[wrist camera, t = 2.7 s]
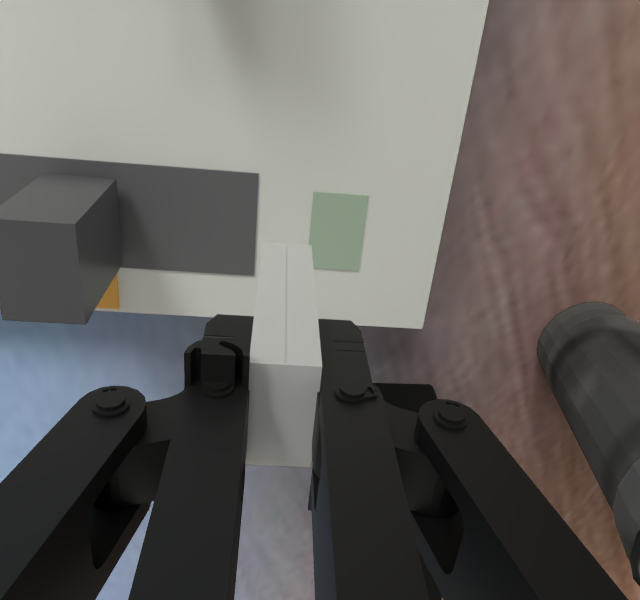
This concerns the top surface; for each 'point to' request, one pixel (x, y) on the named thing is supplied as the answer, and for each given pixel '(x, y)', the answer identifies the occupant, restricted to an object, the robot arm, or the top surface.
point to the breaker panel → (249, 139)
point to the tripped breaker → (58, 248)
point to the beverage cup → (601, 403)
